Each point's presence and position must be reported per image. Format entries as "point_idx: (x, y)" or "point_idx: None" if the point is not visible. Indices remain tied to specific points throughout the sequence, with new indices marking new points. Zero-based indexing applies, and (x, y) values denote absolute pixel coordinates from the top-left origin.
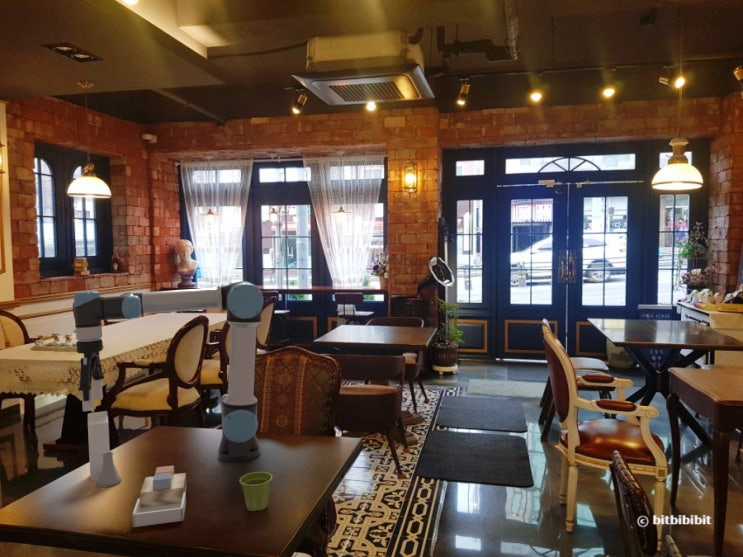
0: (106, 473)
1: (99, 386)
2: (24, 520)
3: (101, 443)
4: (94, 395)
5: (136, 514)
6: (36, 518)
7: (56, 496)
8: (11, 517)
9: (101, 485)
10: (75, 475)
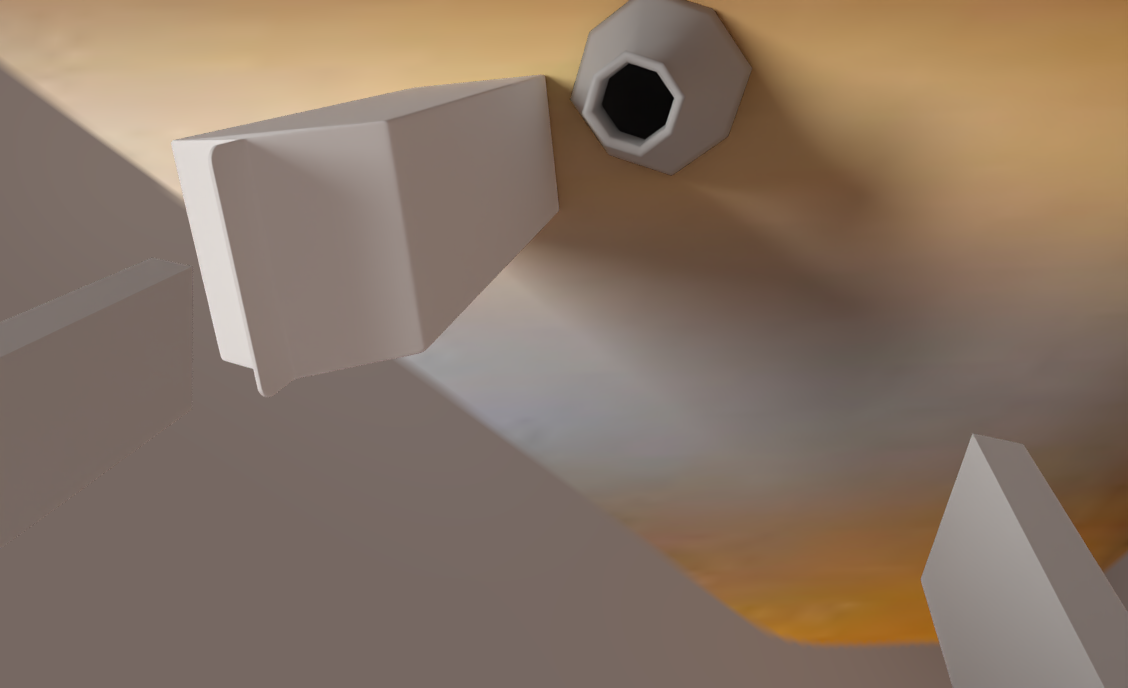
0: (704, 106)
1: (3, 399)
2: None
3: (476, 173)
4: (139, 422)
5: None
6: None
7: (733, 412)
8: None
9: (722, 138)
10: None
